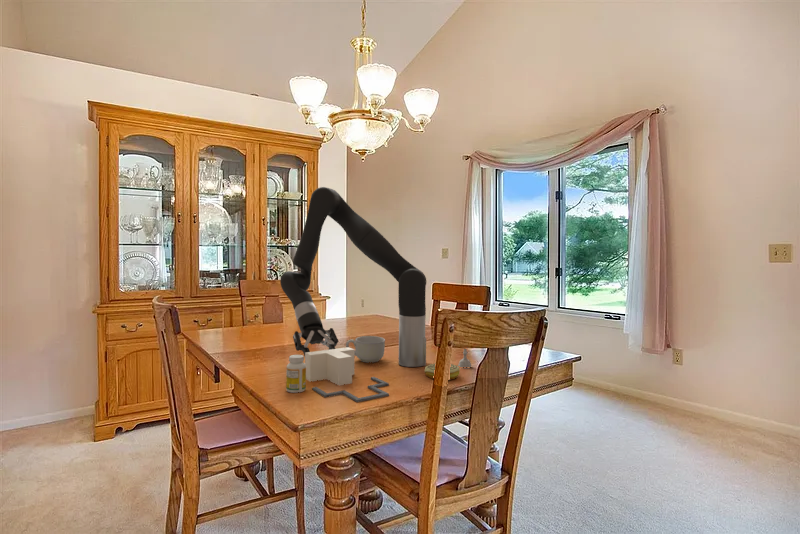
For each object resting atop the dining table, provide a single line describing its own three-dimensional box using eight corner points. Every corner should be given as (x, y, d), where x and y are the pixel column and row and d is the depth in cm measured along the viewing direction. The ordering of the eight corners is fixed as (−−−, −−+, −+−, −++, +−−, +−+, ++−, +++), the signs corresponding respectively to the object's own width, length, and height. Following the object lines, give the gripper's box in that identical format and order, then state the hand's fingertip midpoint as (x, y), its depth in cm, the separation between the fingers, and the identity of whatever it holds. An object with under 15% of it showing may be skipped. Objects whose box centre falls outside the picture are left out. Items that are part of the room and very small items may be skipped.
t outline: (312, 389, 126) (312, 387, 126) (373, 378, 138) (374, 376, 138) (338, 406, 113) (338, 403, 113) (404, 392, 125) (404, 390, 125)
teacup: (386, 357, 166) (386, 336, 166) (382, 364, 155) (382, 341, 155) (349, 356, 167) (349, 335, 167) (343, 363, 156) (343, 340, 156)
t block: (304, 378, 137) (305, 352, 137) (348, 371, 146) (348, 347, 145) (321, 388, 127) (322, 360, 127) (367, 380, 136) (367, 354, 136)
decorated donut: (435, 371, 149) (435, 359, 149) (464, 376, 143) (464, 364, 143) (419, 378, 140) (419, 366, 140) (449, 383, 134) (450, 371, 134)
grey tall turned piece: (471, 370, 149) (472, 316, 149) (452, 367, 152) (452, 315, 152) (477, 365, 156) (478, 313, 155) (458, 363, 159) (459, 312, 158)
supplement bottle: (291, 394, 122) (291, 359, 121) (282, 389, 126) (283, 355, 125) (309, 390, 125) (309, 356, 125) (300, 386, 129) (300, 353, 129)
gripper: (291, 312, 147) (304, 353, 138) (330, 309, 155) (345, 348, 146) (285, 326, 152) (298, 367, 143) (323, 323, 160) (338, 361, 151)
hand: (322, 357), depth 144 cm, fingers open, 8 cm apart
